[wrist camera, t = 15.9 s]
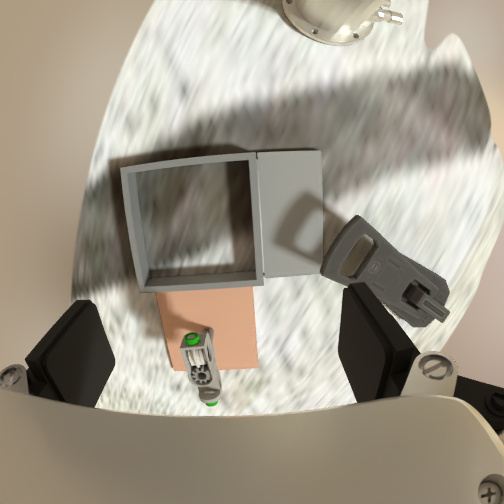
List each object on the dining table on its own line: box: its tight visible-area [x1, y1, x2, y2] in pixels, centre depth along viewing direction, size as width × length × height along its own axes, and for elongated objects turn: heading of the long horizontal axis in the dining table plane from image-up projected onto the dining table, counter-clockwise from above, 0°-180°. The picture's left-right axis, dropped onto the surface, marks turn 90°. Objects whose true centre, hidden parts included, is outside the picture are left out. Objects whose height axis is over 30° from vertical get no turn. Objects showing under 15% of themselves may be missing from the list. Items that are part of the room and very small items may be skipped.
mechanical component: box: [180, 328, 222, 406], centre depth 35 cm, size 3×10×10 cm, turn 8°
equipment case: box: [120, 151, 323, 293], centre depth 35 cm, size 24×16×3 cm, turn 94°
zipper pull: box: [320, 215, 450, 327], centre depth 36 cm, size 9×7×25 cm
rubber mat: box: [156, 286, 258, 371], centre depth 41 cm, size 13×14×1 cm
